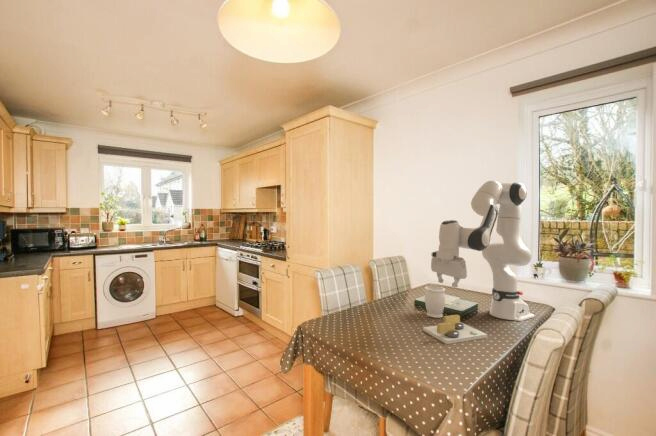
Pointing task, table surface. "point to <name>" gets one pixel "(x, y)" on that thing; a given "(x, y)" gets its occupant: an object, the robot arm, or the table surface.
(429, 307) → the jar
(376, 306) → the table surface
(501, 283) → the robot arm
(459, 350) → the table surface
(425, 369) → the table surface
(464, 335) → the level plate
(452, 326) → the knob
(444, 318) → the knob
